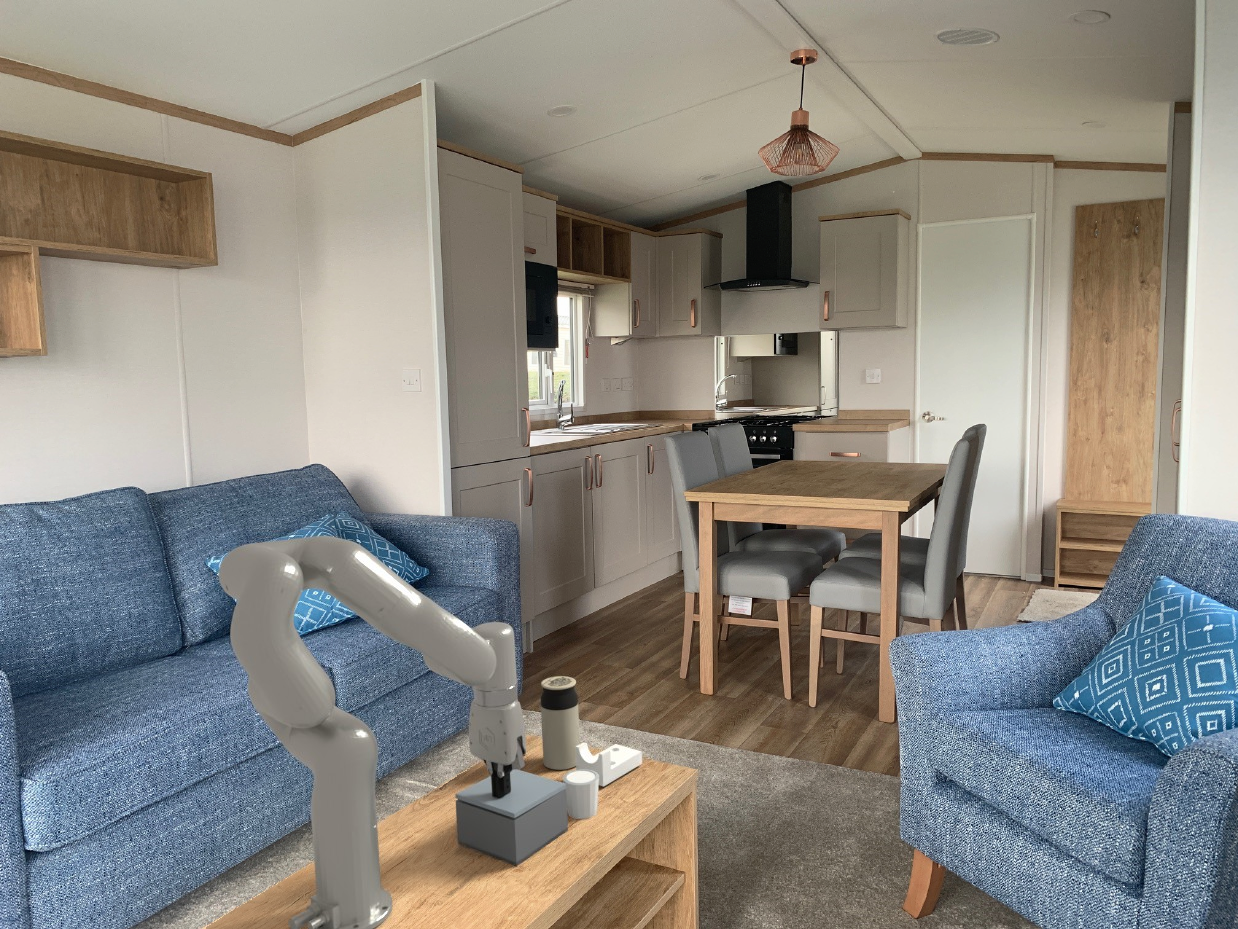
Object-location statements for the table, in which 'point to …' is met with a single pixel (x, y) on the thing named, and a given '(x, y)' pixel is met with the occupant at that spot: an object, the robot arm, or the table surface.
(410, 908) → the table surface
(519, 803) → the lid
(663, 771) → the table surface
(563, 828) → the storage box
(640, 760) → the bracket
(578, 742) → the travel mug
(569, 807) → the white cup
